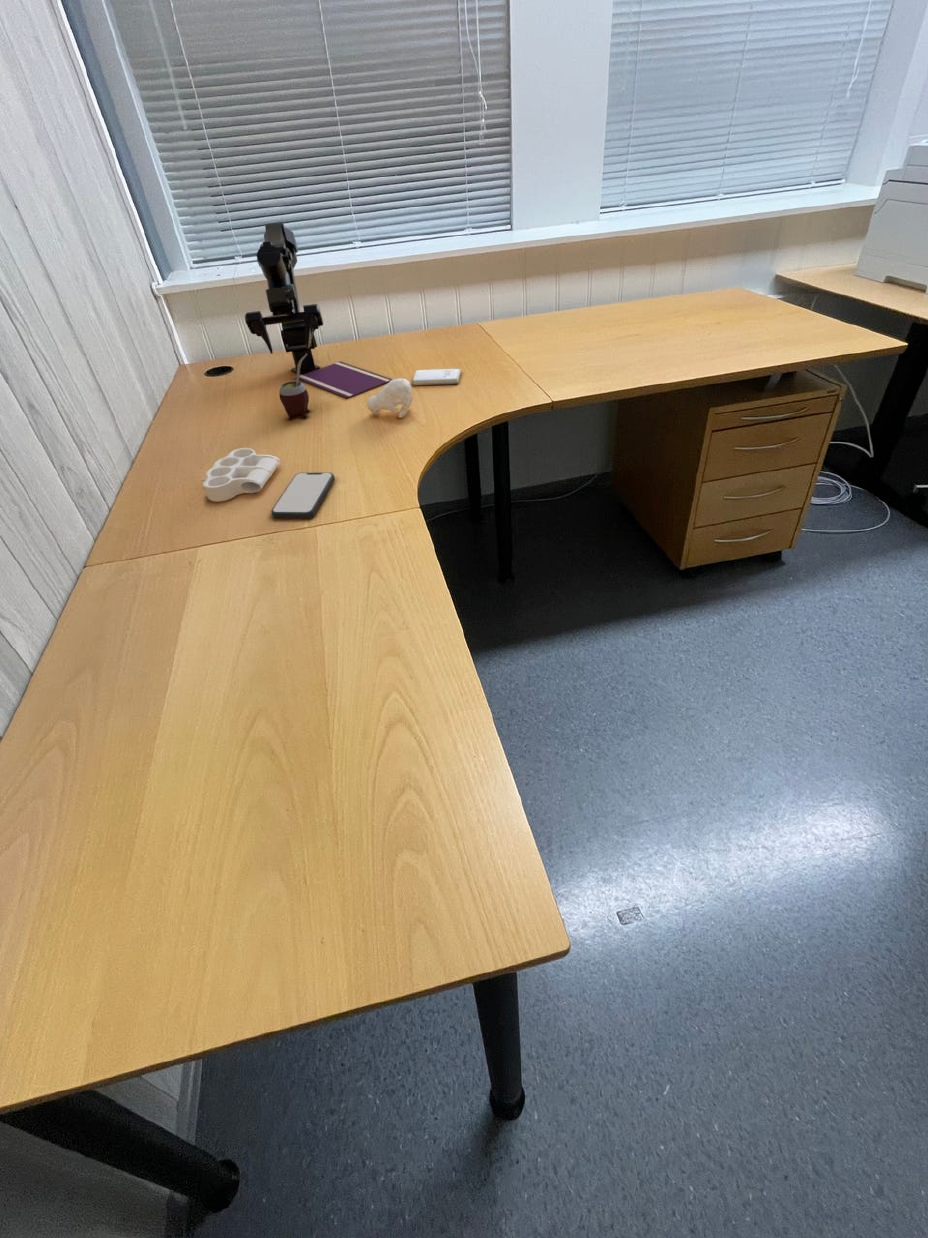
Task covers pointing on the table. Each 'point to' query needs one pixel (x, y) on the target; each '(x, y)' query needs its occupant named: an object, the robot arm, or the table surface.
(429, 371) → the hard drive
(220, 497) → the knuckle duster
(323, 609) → the table surface
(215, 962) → the table surface
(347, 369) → the towel
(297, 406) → the mate gourd
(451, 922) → the table surface
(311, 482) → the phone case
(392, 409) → the white animal figurine
